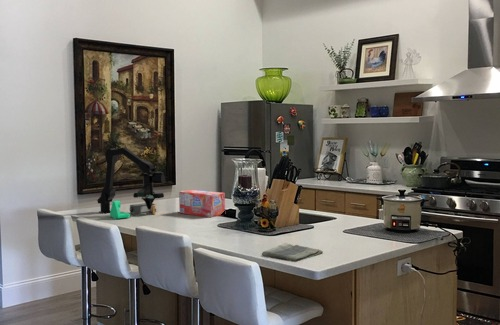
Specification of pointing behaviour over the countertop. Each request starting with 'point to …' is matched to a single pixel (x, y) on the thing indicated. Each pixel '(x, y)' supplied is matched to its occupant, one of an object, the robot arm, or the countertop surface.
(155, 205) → the door
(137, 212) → the housing
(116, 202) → the camera mount
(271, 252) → the dish towel
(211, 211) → the box
